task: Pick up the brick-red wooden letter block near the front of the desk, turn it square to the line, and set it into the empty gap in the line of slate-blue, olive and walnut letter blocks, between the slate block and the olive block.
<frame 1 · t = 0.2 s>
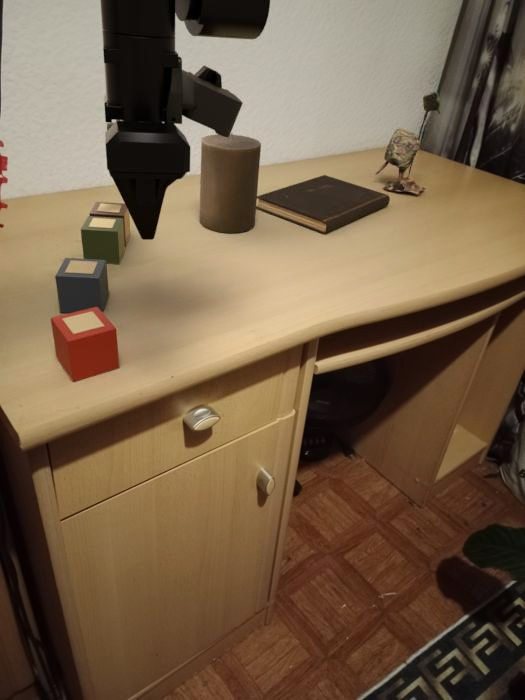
hand: (144, 219, 52), 15 cm above the table, tool pointing down, fingers open, 9 cm apart
pillar candle: (226, 223, 94), on the table
hardcover book: (323, 208, 105), on the table
walnut block: (111, 239, 84), on the table
mottled figurine: (398, 189, 120), on the table
red block: (87, 362, 58), on the table
slate block: (85, 303, 68), on the table
olive block: (105, 256, 79), on the table
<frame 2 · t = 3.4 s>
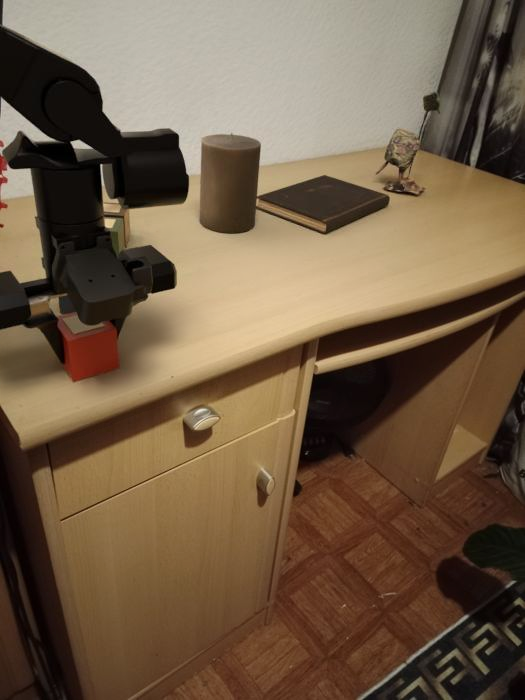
hand: (86, 354, 57), 1 cm above the table, tool pointing down, fingers closed on red block, 5 cm apart
red block: (87, 362, 58), on the table, touching gripper
everything else where it was.
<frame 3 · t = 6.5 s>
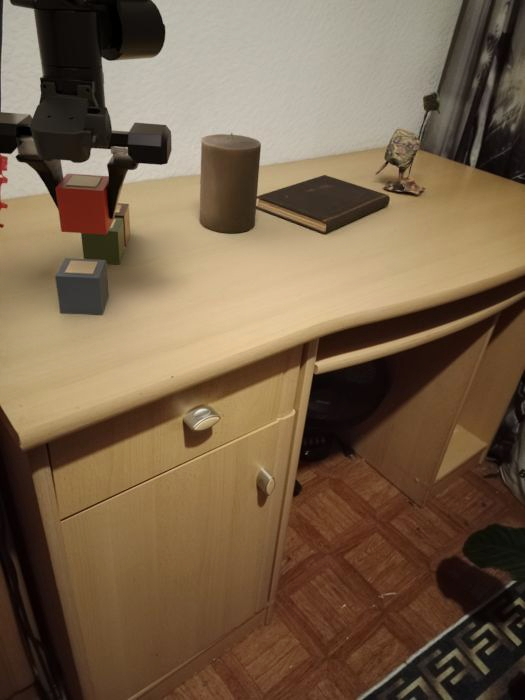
hand: (87, 216, 62), 11 cm above the table, tool pointing down, fingers closed on red block, 5 cm apart
red block: (88, 224, 62), point 10 cm above the table, touching gripper
everything else where it was.
when the fingers open (1 cm above the table, at t = 9.8 s): red block stays where it is, on the table.
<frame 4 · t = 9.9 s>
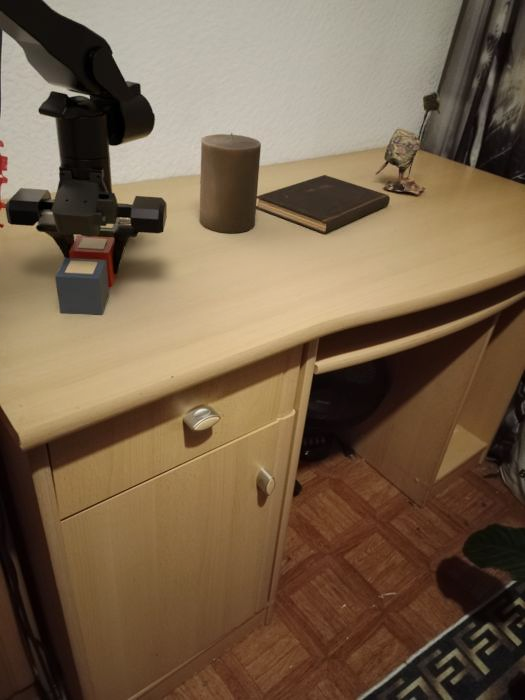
hand: (95, 271, 73), 1 cm above the table, tool pointing down, fingers open, 5 cm apart
red block: (96, 278, 73), on the table
everything else where it was.
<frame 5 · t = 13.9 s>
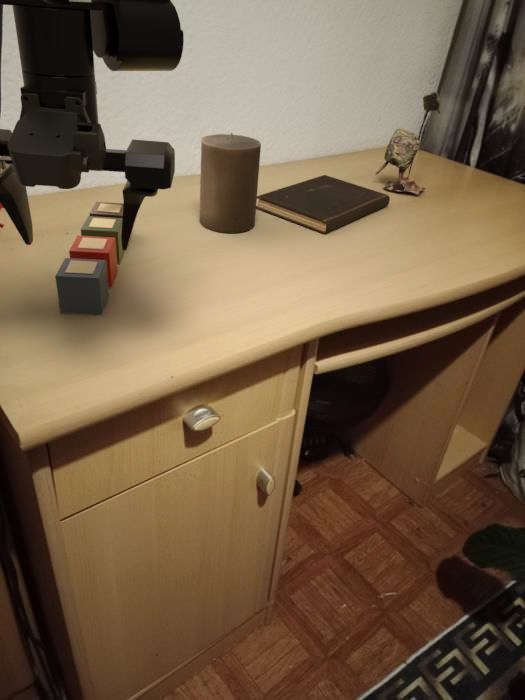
hand: (77, 246, 54), 12 cm above the table, tool pointing down, fingers open, 9 cm apart
nothing on the table moved.
at the end: red block 0.1 cm from the target spot on the table beside the olive block, on the table; red block tilted 0°; olive block moved 0.0 cm from its start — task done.
